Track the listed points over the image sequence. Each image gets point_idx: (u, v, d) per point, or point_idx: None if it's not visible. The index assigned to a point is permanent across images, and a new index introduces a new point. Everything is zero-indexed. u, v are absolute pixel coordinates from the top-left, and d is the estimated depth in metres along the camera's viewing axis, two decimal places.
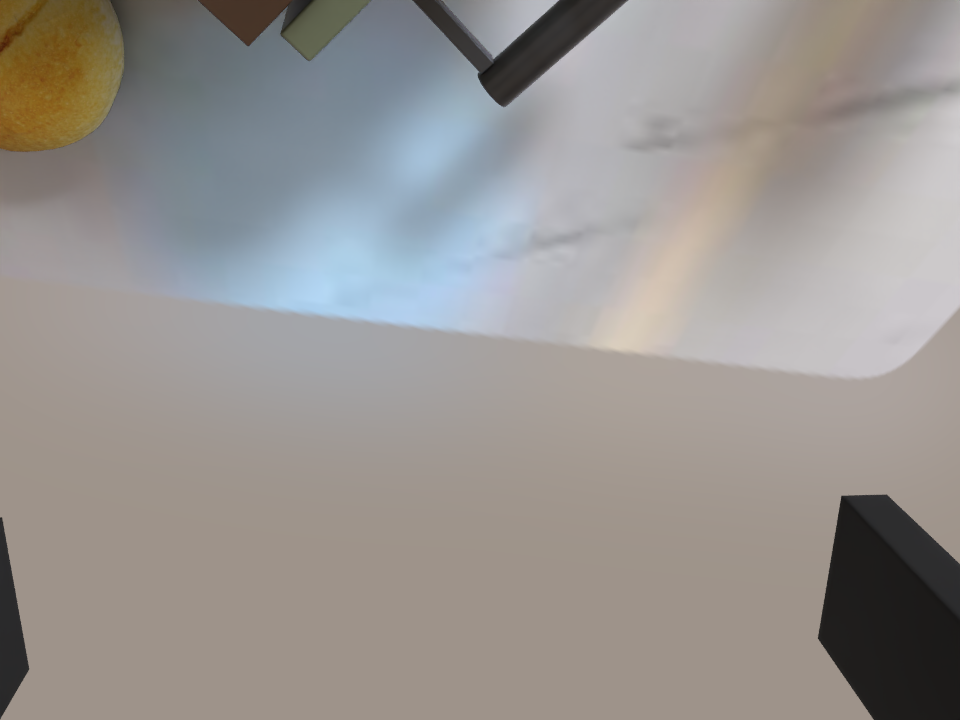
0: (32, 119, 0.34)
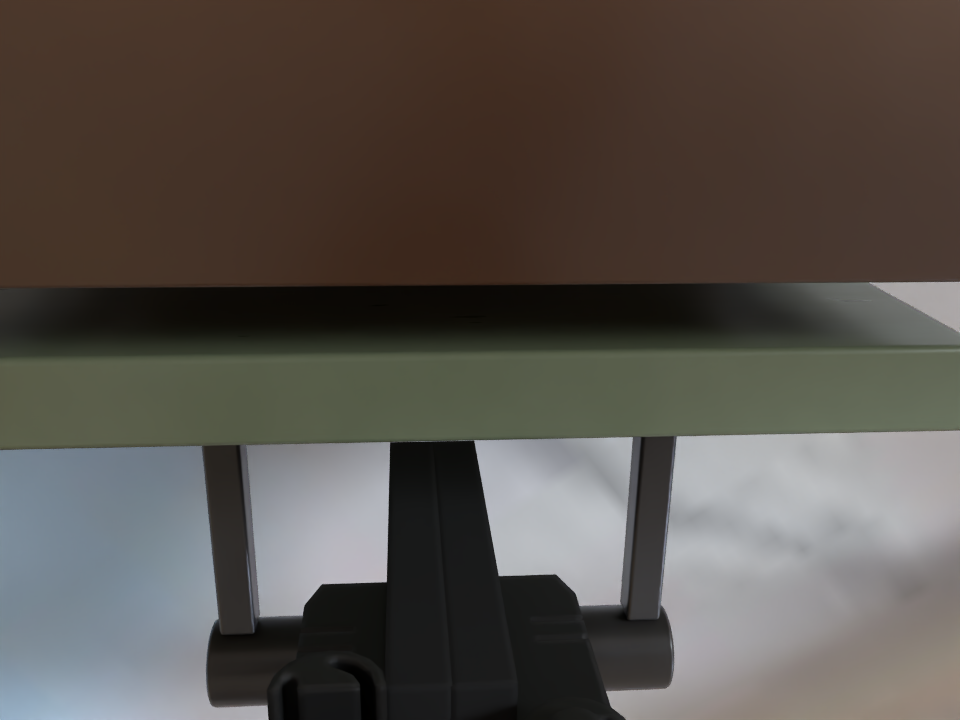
0: None
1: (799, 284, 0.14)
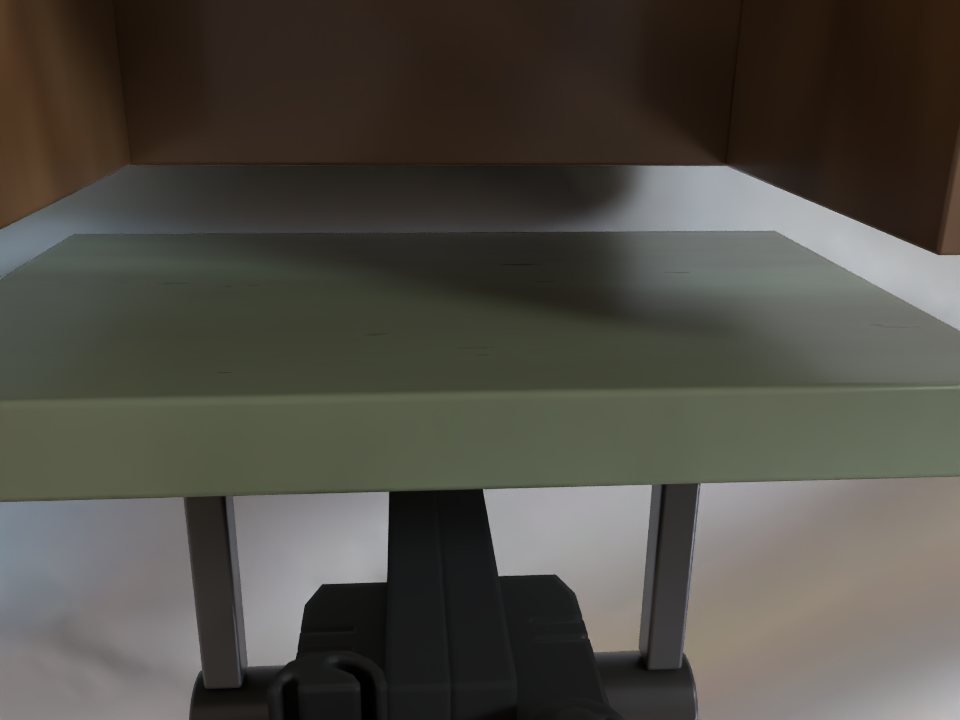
0: None
1: (837, 307, 0.13)
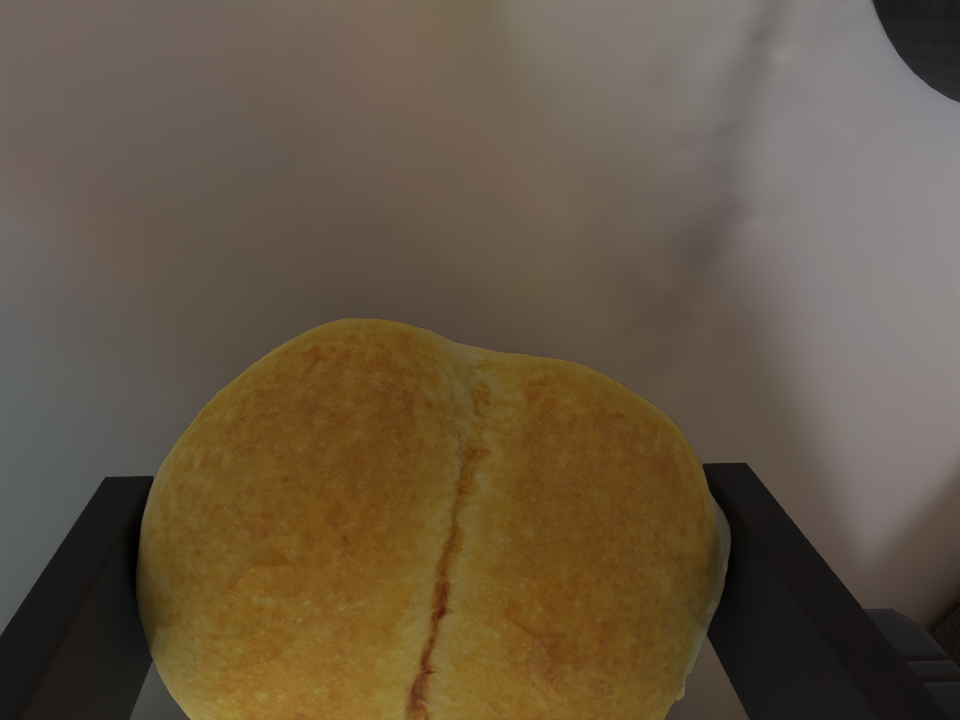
0: (247, 631, 0.12)
1: None
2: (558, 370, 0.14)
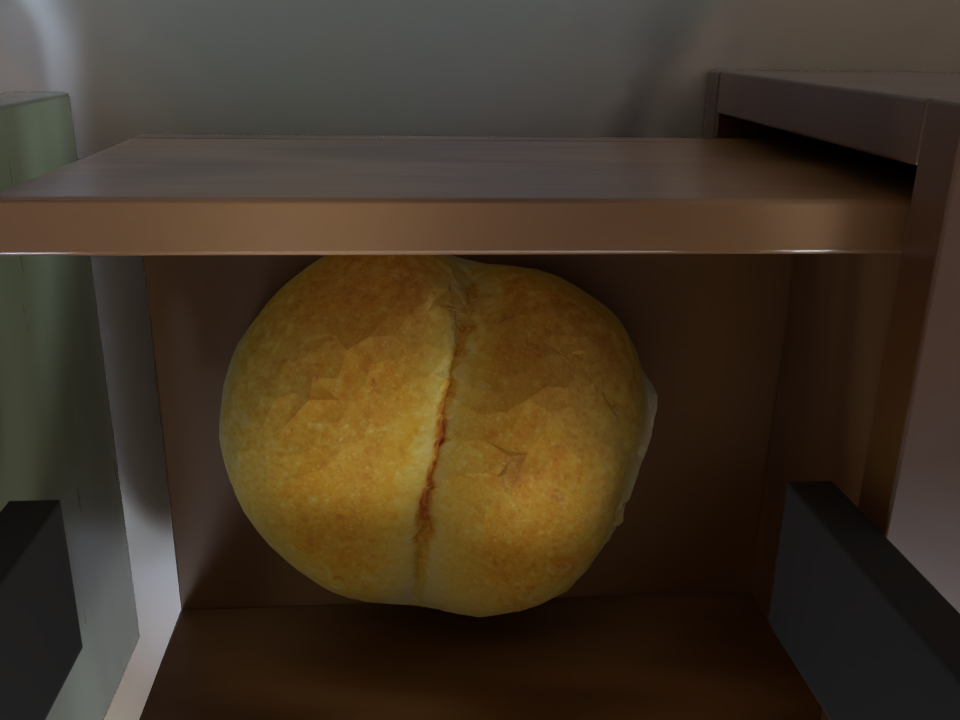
0: (304, 447, 0.17)
1: None
2: (528, 274, 0.19)
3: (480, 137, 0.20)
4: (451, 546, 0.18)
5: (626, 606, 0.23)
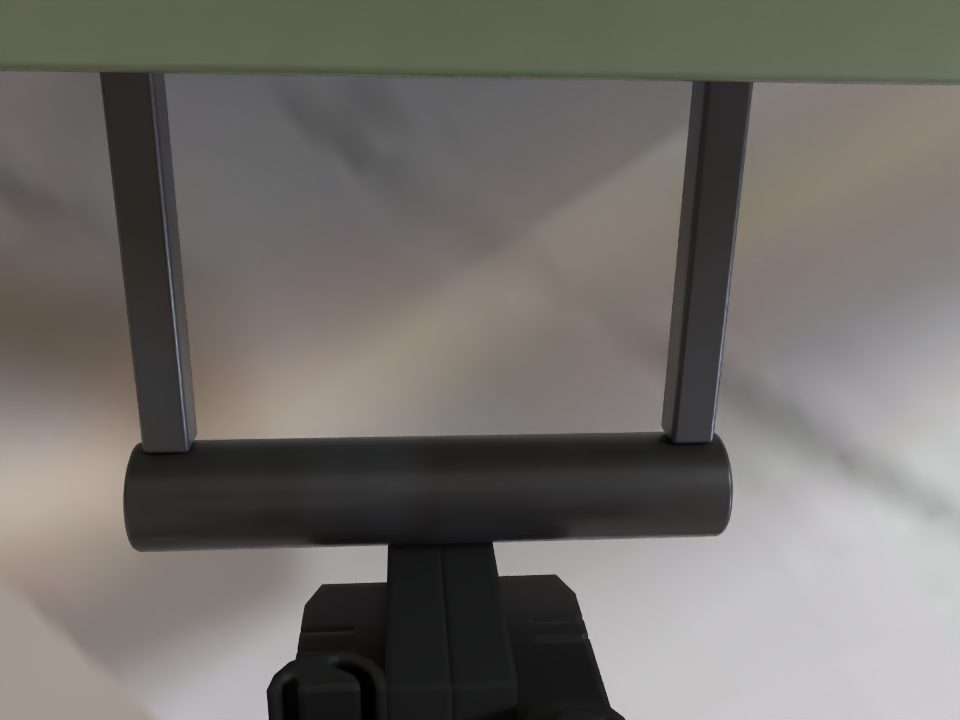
0: None
1: None
2: None
3: None
4: None
5: None
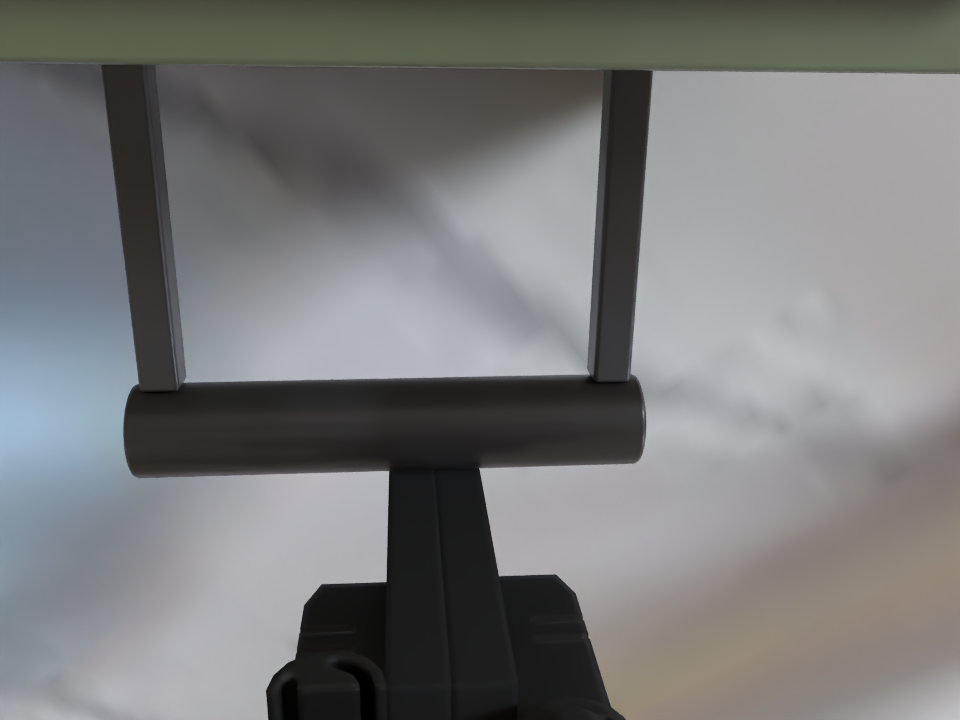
0: None
1: None
2: None
3: None
4: None
5: None
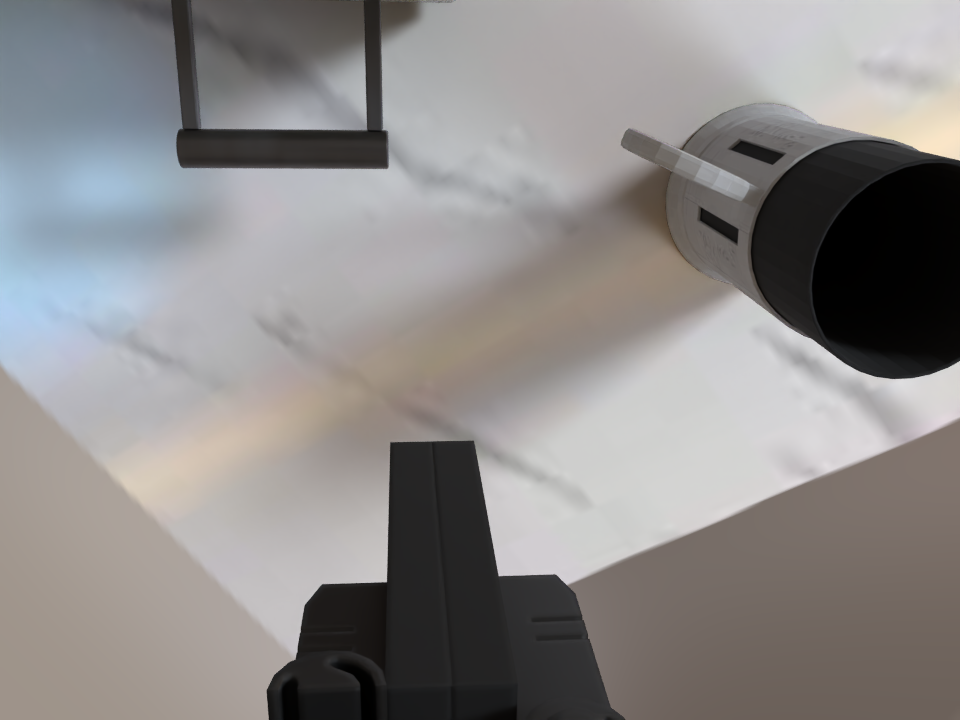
0: None
1: None
2: None
3: None
4: None
5: None
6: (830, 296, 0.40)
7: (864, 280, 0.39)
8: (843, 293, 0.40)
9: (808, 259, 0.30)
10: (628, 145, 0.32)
